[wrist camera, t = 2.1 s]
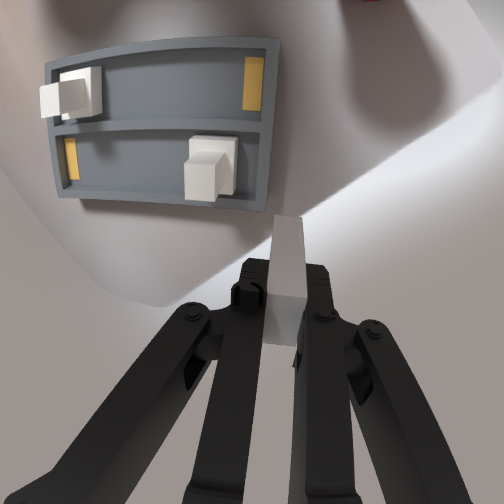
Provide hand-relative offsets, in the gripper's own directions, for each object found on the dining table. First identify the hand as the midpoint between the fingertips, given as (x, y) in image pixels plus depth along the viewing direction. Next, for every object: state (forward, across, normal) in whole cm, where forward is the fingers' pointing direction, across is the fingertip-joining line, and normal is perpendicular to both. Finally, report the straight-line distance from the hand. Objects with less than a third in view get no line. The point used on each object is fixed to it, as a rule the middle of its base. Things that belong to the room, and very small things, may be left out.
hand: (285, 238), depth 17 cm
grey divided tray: (+15, -14, +4) cm, 21 cm away
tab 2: (+13, -7, 0) cm, 14 cm away
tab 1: (+13, -21, +8) cm, 25 cm away
